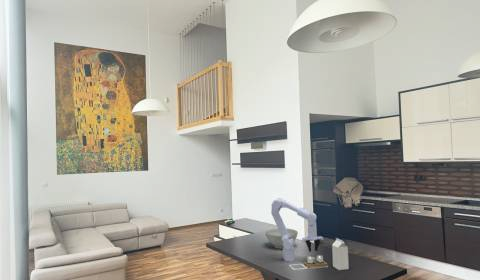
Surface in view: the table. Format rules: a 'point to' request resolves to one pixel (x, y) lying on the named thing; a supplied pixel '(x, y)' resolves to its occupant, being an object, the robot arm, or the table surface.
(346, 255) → the milk carton
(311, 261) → the cylinder
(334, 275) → the table surface
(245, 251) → the table surface
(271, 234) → the decorative bowl
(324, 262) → the wooden compartment tray
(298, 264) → the square tray
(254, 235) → the table surface
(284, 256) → the robot arm
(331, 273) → the table surface
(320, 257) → the cylinder
